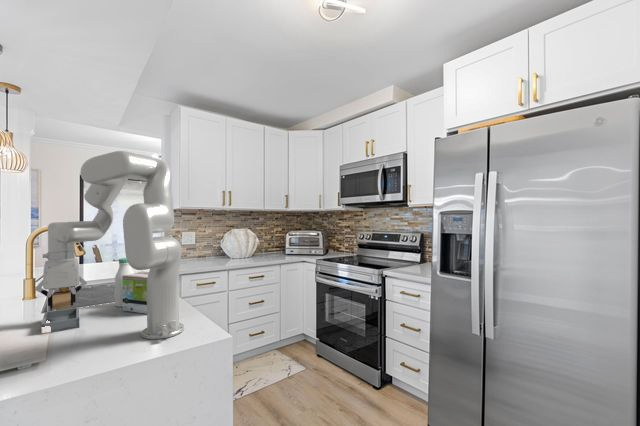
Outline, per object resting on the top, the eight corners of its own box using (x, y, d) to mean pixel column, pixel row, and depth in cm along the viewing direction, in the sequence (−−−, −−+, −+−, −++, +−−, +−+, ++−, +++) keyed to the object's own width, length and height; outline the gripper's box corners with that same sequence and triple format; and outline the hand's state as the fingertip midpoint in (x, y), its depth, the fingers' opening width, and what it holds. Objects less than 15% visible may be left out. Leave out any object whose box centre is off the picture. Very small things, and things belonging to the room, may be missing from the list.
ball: (68, 291, 115) (71, 283, 116) (58, 290, 113) (61, 282, 115) (67, 293, 117) (69, 286, 118) (57, 292, 115) (60, 284, 117)
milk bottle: (125, 307, 132) (125, 260, 133) (110, 306, 134) (109, 259, 134) (139, 302, 140) (139, 257, 140) (124, 301, 142) (124, 257, 142)
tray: (79, 327, 109) (79, 318, 109) (41, 334, 103) (40, 324, 103) (79, 315, 123) (79, 307, 123) (45, 320, 117) (45, 312, 117)
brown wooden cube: (70, 307, 114) (70, 292, 114) (52, 309, 111) (52, 294, 111) (71, 304, 118) (70, 289, 118) (53, 306, 115) (53, 292, 115)
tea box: (121, 311, 127) (121, 275, 127) (142, 304, 137) (141, 270, 137) (151, 315, 123) (151, 277, 123) (170, 307, 132) (170, 272, 132)
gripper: (28, 259, 106) (28, 313, 106) (90, 255, 117) (91, 304, 117) (31, 257, 112) (31, 308, 112) (90, 253, 123) (90, 299, 123)
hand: (62, 305), depth 114 cm, fingers closed on brown wooden cube, 5 cm apart
